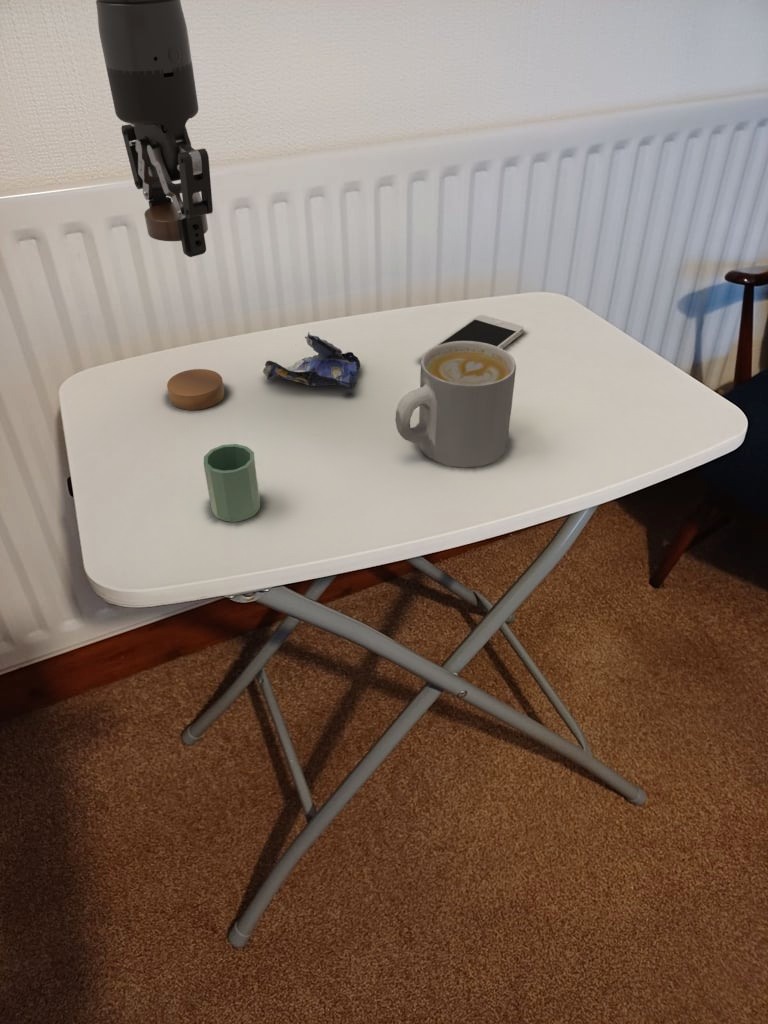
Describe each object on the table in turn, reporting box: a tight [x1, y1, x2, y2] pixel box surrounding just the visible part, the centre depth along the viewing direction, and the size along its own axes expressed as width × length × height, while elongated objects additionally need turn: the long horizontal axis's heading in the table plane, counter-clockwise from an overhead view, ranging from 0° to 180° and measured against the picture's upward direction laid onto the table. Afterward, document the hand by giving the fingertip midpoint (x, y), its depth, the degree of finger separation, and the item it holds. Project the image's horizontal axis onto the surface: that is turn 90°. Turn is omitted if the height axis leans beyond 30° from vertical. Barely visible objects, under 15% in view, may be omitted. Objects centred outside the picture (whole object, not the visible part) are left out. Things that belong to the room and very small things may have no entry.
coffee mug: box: [395, 341, 517, 468], centre depth 85 cm, size 13×10×10 cm
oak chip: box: [166, 368, 225, 411], centre depth 96 cm, size 7×7×2 cm
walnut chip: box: [143, 201, 209, 242], centre depth 79 cm, size 6×6×2 cm
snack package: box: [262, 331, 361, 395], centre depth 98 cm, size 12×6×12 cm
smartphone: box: [422, 314, 525, 356], centre depth 106 cm, size 7×16×1 cm, turn 145°
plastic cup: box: [203, 443, 261, 523], centre depth 77 cm, size 5×5×6 cm
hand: (180, 244), depth 81 cm, fingers closed on walnut chip, 6 cm apart
